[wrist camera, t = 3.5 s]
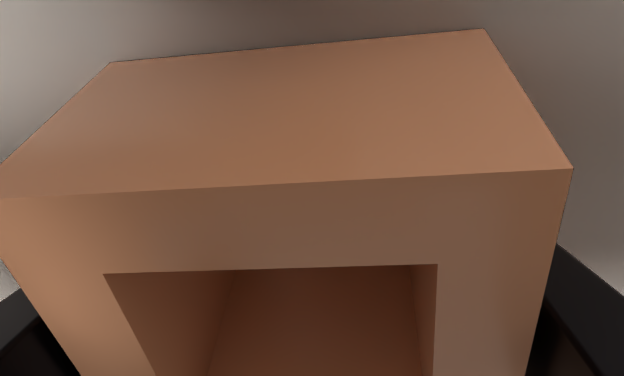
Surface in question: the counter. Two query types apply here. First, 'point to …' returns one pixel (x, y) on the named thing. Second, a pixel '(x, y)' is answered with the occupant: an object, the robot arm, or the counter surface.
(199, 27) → the counter surface
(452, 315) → the collar
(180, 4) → the counter surface
